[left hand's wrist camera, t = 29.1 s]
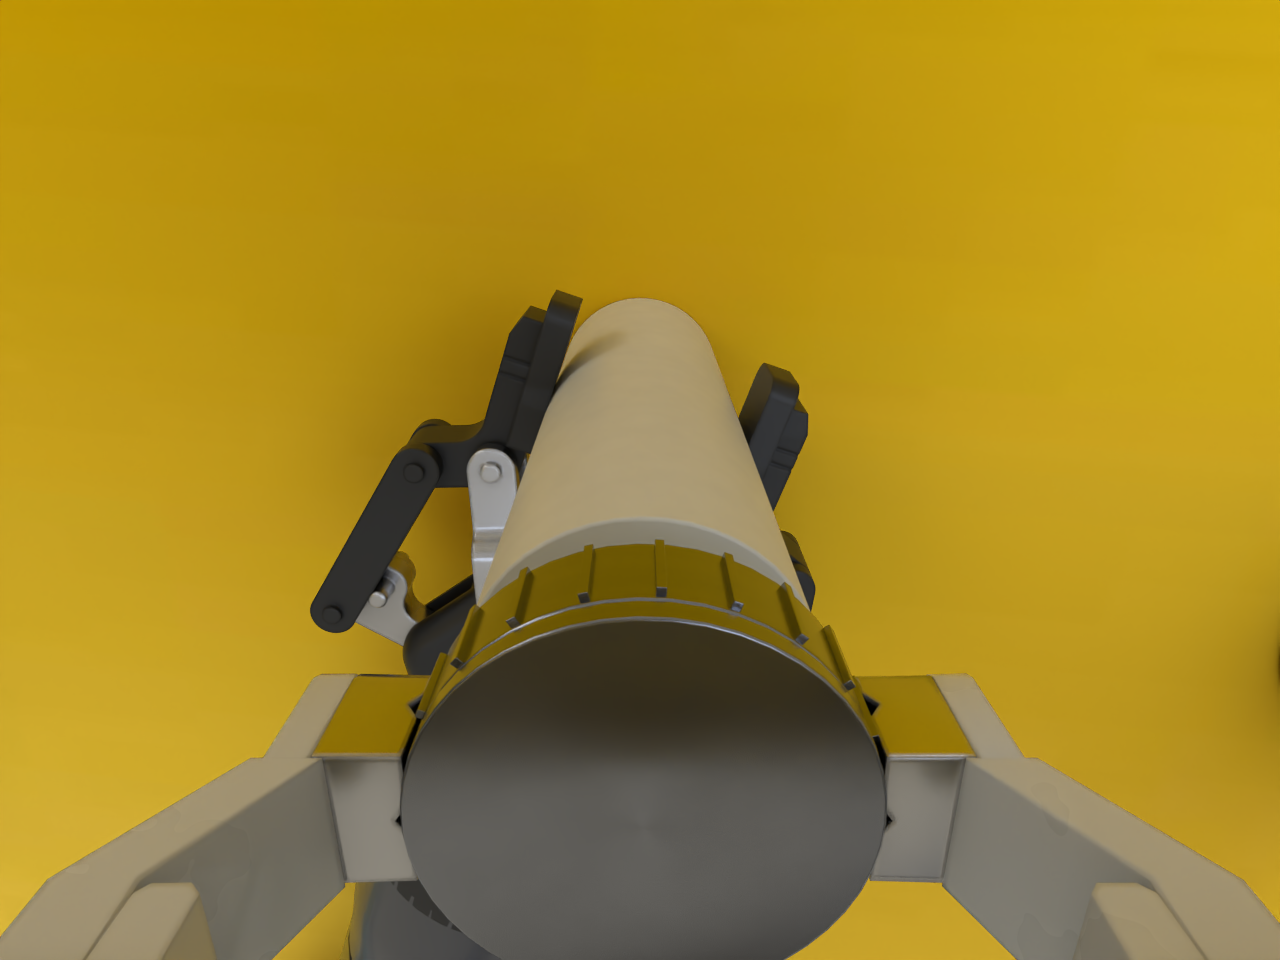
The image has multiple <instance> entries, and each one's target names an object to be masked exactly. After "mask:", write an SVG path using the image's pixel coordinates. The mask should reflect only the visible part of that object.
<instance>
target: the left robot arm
mask: <svg viewBox="0 0 1280 960" xmlns="http://www.w3.org/2000/svg"><path fill="white" fill-rule="evenodd" d="M430 677H431V675H385V674H360V675H357V674H321V675H318V676H316V677H314V678H313V679H312V681H311V682H310V684H309V685H308V687H307V689H306V690H305V692H304V693H303V695H302V697H301V698H300V700H299V701H298V703H297V705H296V706H295V708H294V709H293V711H292V713H291V714H290V716H289V717H288V719H287V720H286V722H285V724H284V725H283V727H282V728H281V730H280V732H279V733H278V735H277V736H276V738H275V740H274V741H273V743H272V744H271V746H270V747H269V749H268V751H267V752H266V754H265V755H264V757H263V758H250V759H248V760H247V761H245V762H243V763H242V764H240V765H238V766H237V767H235V768H233V769H231V770H230V771H228V772H226V773H225V774H223V775H221V776H220V777H218V778H216V779H215V780H213V781H211V782H210V783H208V784H206V785H205V786H203V787H201V788H200V789H198V790H196V791H195V792H193V793H191V794H190V795H188V796H186V797H184V798H183V799H181V800H179V801H178V802H176V803H174V804H173V805H171V806H169V807H168V808H166V809H164V810H163V811H161V812H159V813H158V814H156V815H154V816H153V817H151V818H149V819H148V820H146V821H144V822H143V823H141V824H139V825H138V826H136V827H134V828H132V829H131V830H129V831H127V832H126V833H124V834H122V835H121V836H119V837H117V838H116V839H114V840H112V841H111V842H109V843H107V844H106V845H104V846H102V847H101V848H99V849H97V850H96V851H94V852H92V853H91V854H89V855H87V856H86V857H84V858H82V859H80V860H79V861H77V862H75V863H74V864H72V865H70V866H69V867H67V868H65V869H64V870H62V871H60V872H59V873H57V874H55V875H54V876H52V877H50V878H49V879H47V880H46V882H45V883H44V884H43V885H42V887H41V888H40V889H39V890H38V891H37V893H36V894H35V895H34V896H33V897H32V899H31V900H30V901H29V902H28V904H27V905H26V906H25V907H24V908H23V910H22V911H21V912H20V913H19V915H18V916H17V917H16V918H15V919H14V921H13V922H12V923H11V924H10V926H9V927H8V928H7V929H6V930H5V932H4V933H3V934H2V935H1V936H0V960H272V959H273V958H274V957H275V956H276V955H277V954H278V953H279V952H280V951H281V950H282V949H283V948H284V947H285V946H286V945H287V944H288V943H289V942H290V941H291V940H292V939H293V938H294V937H295V936H296V935H297V934H298V933H299V932H300V931H301V930H302V929H303V928H304V927H305V926H306V925H307V924H308V923H309V922H310V921H311V920H312V919H313V918H314V917H315V916H316V915H317V914H318V913H319V912H320V911H321V910H322V909H323V908H324V907H325V906H326V905H327V904H328V903H329V902H330V901H331V900H332V899H333V898H334V897H335V896H336V895H337V894H338V893H339V892H340V891H341V890H342V889H343V888H344V887H345V883H350V882H384V881H417V880H418V877H417V875H416V872H415V870H414V868H413V865H412V863H411V861H410V859H409V856H408V853H407V849H406V845H405V841H404V838H403V834H402V828H401V817H400V806H399V805H400V792H401V780H402V776H403V772H404V768H405V764H406V760H407V757H408V754H409V751H410V748H411V746H412V743H413V741H414V738H415V736H416V733H417V730H418V728H419V725H420V722H421V720H422V719H419V718H416V717H415V714H416V712H417V709H418V707H419V704H420V702H421V699H422V697H423V694H424V692H425V689H426V687H427V684H428V682H429V679H430ZM855 678H856V681H857V683H858V685H859V688H860V690H861V693H862V695H863V698H864V700H865V702H866V705H867V707H868V710H869V712H870V715H871V717H872V720H873V722H874V724H875V727H876V729H877V732H878V734H879V743H876V747H877V750H878V753H879V757H880V760H881V763H882V766H883V769H884V774H885V781H886V788H887V795H888V796H887V822H886V827H885V832H884V837H883V842H882V847H881V850H880V852H879V855H878V858H877V860H876V863H875V866H874V869H873V871H872V872H871V874H870V876H869V879H870V881H902V882H937V883H943V884H942V886H943V887H944V888H945V889H946V890H947V891H948V892H949V893H950V894H951V895H952V896H953V897H954V898H955V899H956V900H957V901H958V902H959V903H960V904H961V905H962V906H963V907H964V908H965V909H966V910H967V911H968V912H969V913H970V914H971V915H972V916H973V917H974V918H975V919H976V920H977V921H978V922H979V923H980V924H981V925H982V926H983V927H984V928H985V929H986V930H987V931H988V932H989V933H990V934H991V935H992V936H993V937H994V938H995V939H996V940H997V941H998V942H999V943H1000V944H1002V945H1003V946H1004V947H1005V948H1006V949H1007V950H1008V951H1009V952H1010V953H1011V954H1012V955H1013V956H1014V957H1015V958H1016V959H1017V960H1280V923H1279V922H1278V921H1277V920H1276V919H1275V917H1274V916H1273V915H1272V914H1271V913H1270V911H1269V910H1268V909H1267V908H1266V907H1265V905H1264V904H1263V903H1262V902H1261V901H1260V899H1259V898H1258V897H1257V896H1256V894H1255V893H1254V892H1253V891H1252V890H1251V888H1250V887H1249V886H1248V885H1247V884H1246V882H1245V881H1244V880H1242V879H1241V878H1239V877H1237V876H1236V875H1234V874H1232V873H1230V872H1229V871H1227V870H1225V869H1224V868H1222V867H1220V866H1219V865H1217V864H1215V863H1214V862H1212V861H1210V860H1209V859H1207V858H1205V857H1203V856H1202V855H1200V854H1198V853H1197V852H1195V851H1193V850H1192V849H1190V848H1188V847H1187V846H1185V845H1183V844H1182V843H1180V842H1178V841H1176V840H1175V839H1173V838H1171V837H1170V836H1168V835H1166V834H1165V833H1163V832H1161V831H1160V830H1158V829H1156V828H1155V827H1153V826H1151V825H1149V824H1148V823H1146V822H1144V821H1143V820H1141V819H1139V818H1138V817H1136V816H1134V815H1133V814H1131V813H1129V812H1128V811H1126V810H1124V809H1122V808H1121V807H1119V806H1117V805H1116V804H1114V803H1112V802H1111V801H1109V800H1107V799H1106V798H1104V797H1102V796H1101V795H1099V794H1097V793H1095V792H1094V791H1092V790H1090V789H1089V788H1087V787H1085V786H1084V785H1082V784H1080V783H1079V782H1077V781H1075V780H1074V779H1072V778H1070V777H1068V776H1067V775H1065V774H1063V773H1062V772H1060V771H1058V770H1057V769H1055V768H1053V767H1052V766H1050V765H1048V764H1047V763H1045V762H1043V761H1041V760H1040V759H1038V758H1025V757H1024V756H1023V754H1022V753H1021V751H1020V749H1019V748H1018V746H1017V745H1016V743H1015V742H1014V740H1013V739H1012V737H1011V736H1010V734H1009V733H1008V731H1007V729H1006V728H1005V726H1004V725H1003V723H1002V722H1001V720H1000V719H999V717H998V716H997V714H996V713H995V711H994V709H993V708H992V706H991V705H990V703H989V702H988V700H987V699H986V697H985V696H984V694H983V693H982V691H981V689H980V688H979V686H978V685H977V683H976V682H975V680H974V679H973V677H971V676H969V675H968V674H966V673H960V674H929V675H926V676H855Z"/></svg>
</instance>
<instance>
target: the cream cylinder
mask: <svg viewBox="0 0 1280 960" xmlns="http://www.w3.org/2000/svg"><path fill="white" fill-rule="evenodd" d="M655 539H658V540H664V543H665V545H673V546H680V547H686V548H693V549H698V550H701V551H705V552H709V553H712V554H716V555H719V556H723V554H724V552H726V553H729V554H732V555H733V558H734V561H735V562H738V563H740V564H743V565H745V566H747V567H750V568H752V569H754V570H756V571H757V572H759V573H761V574H762V575H764V576H766V577H768V578H769V579H771V580H773V581H775V582H776V583H778V584H779V585H780V586H781V585H782V584H783V583H784V582H786V583H787V584H788V585H790V586H791V588H792V591H793V594H794V596H795V597H796V598H797V599H798V600H799V601H800V602H801V603H802V604H803V605H804V606H805V607H806V608H807V609H808V610H809V611H810V609H809V607H808V604H807V601H806V599H805V596H804V593H803V591H802V588H801V585H800V583H799V580H798V577H797V575H796V572H795V569H794V567H793V564H792V561H791V559H790V556H789V553H788V551H787V548H786V545H785V542H784V540H783V537H782V534H781V532H780V529H779V526H778V524H777V521H776V518H775V516H774V513H773V510H772V508H771V505H770V502H769V500H768V497H767V494H766V492H765V489H764V486H763V484H762V481H761V478H760V476H759V473H758V470H757V468H756V465H755V462H754V460H753V457H752V454H751V452H750V449H749V446H748V444H747V441H746V438H745V436H744V433H743V430H742V428H741V425H740V422H739V420H738V417H737V414H736V412H735V409H734V406H733V404H732V401H731V398H730V396H729V393H728V390H727V387H726V385H725V382H724V379H723V377H722V374H721V371H720V369H719V366H718V363H717V361H716V358H715V355H714V353H713V350H712V347H711V345H710V343H709V341H708V339H707V336H706V335H705V333H704V332H703V330H702V329H701V327H700V326H699V325H698V324H697V323H696V322H695V321H694V320H693V319H692V318H691V317H690V316H689V315H688V314H686V313H685V312H683V311H682V310H680V309H679V308H677V307H675V306H673V305H671V304H669V303H666V302H663V301H660V300H654V299H649V298H633V299H626V300H621V301H617V302H615V303H612V304H609V305H607V306H605V307H603V308H601V309H600V310H598V311H597V312H595V313H594V314H592V315H591V316H590V317H589V318H588V319H587V320H586V321H585V322H584V323H583V324H582V325H581V327H580V328H579V329H578V330H577V332H576V334H575V335H574V337H573V339H572V341H571V343H570V345H569V348H568V351H567V354H566V356H565V359H564V362H563V365H562V368H561V370H560V373H559V376H558V379H557V382H556V385H555V388H554V391H553V394H552V397H551V400H550V402H549V405H548V408H547V410H546V413H545V415H544V418H543V421H542V424H541V426H540V429H539V432H538V435H537V438H536V440H535V443H534V446H533V449H532V452H531V455H530V457H529V460H528V463H527V466H526V469H525V471H524V474H523V477H522V480H521V483H520V485H519V488H518V491H517V494H516V497H515V499H514V502H513V505H512V508H511V511H510V513H509V516H508V519H507V522H506V525H505V527H504V530H503V533H502V536H501V539H500V541H499V544H498V547H497V550H496V553H495V556H494V558H493V561H492V564H491V567H490V570H489V572H488V575H487V578H486V581H485V584H484V586H483V589H482V592H481V595H480V598H479V600H478V603H477V606H479V607H481V606H482V605H483V604H484V603H486V602H487V601H488V600H489V599H490V598H491V597H493V596H494V595H495V594H496V593H497V592H498V591H499V590H501V589H502V588H503V587H505V586H507V585H508V584H510V583H511V582H513V581H514V580H516V579H517V578H518V576H519V573H520V570H522V569H524V568H525V567H528V568H529V569H530V570H534V569H536V568H538V567H540V566H542V565H544V564H546V563H548V562H550V561H553V560H556V559H559V558H562V557H565V556H568V555H571V554H574V553H577V552H581V551H584V546H586V545H590V544H593V545H594V549H595V548H600V547H605V546H613V545H626V544H655Z"/></svg>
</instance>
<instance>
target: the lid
mask: <svg viewBox="0 0 1280 960" xmlns="http://www.w3.org/2000/svg"><path fill="white" fill-rule="evenodd" d="M415 717H416V718H419V719H422V720H421V722H420V725H419V728H418V730H417V733H416V736H415V738H414V741H413V743H412V746H411V748H410V751H409V754H408V757H407V760H406V764H405V768H404V772H403V776H402V780H401V792H400V805H399V806H400V817H401V828H402V834H403V838H404V841H405V845H406V849H407V853H408V856H409V859H410V861H411V863H412V865H413V868H414V870H415V872H416V875H417V877H418V879H419V881H420V882H421V884H422V885H423V887H424V889H425V890H426V892H427V893H428V895H429V896H430V898H431V900H432V901H433V902H434V903H435V904H436V906H437V907H438V908H439V909H440V910H441V911H442V913H443V914H444V915H445V916H446V917H447V919H448V920H449V921H450V922H452V923H453V924H454V925H455V926H456V927H457V928H458V929H459V930H460V931H461V932H463V933H464V934H465V935H466V936H467V937H468V938H470V939H471V940H472V941H474V942H475V943H477V944H478V945H479V946H481V947H482V948H484V949H485V950H486V951H488V952H489V953H491V954H493V955H495V956H496V957H498V958H500V959H502V960H785V959H787V958H789V957H790V956H792V955H793V954H795V953H797V952H798V951H800V950H802V949H803V948H805V947H806V946H808V945H809V944H810V943H812V942H813V941H814V940H815V939H817V938H818V937H819V936H820V935H822V934H823V933H824V932H825V931H827V930H828V929H829V928H830V927H831V926H832V925H833V924H834V923H835V922H836V921H837V920H838V919H839V918H840V917H841V916H842V915H843V914H844V913H845V912H846V910H847V909H848V908H849V907H850V905H851V904H852V903H853V901H854V900H855V899H856V897H857V896H858V895H859V893H860V892H861V890H862V889H863V887H864V885H865V883H866V881H867V880H868V878H869V876H870V874H871V872H872V871H873V869H874V866H875V863H876V860H877V858H878V855H879V852H880V850H881V847H882V842H883V837H884V832H885V827H886V822H887V796H888V795H887V788H886V781H885V774H884V769H883V766H882V763H881V760H880V757H879V753H878V750H877V747H876V743H879V734H878V732H877V729H876V727H875V724H874V722H873V720H872V717H871V715H870V712H869V710H868V707H867V705H866V702H865V700H864V698H863V695H862V693H861V690H860V688H859V685H858V683H857V681H856V678H855V676H852V675H851V673H850V670H849V668H848V666H847V663H846V661H845V658H844V656H843V653H842V651H841V648H840V646H839V643H838V641H837V638H836V636H835V633H834V631H833V629H832V628H831V627H830V625H828V626H826V627H824V628H823V627H822V625H821V624H820V623H819V621H818V620H817V618H816V617H815V616H814V615H813V614H812V613H811V612H810V611H809V610H808V609H807V608H806V607H805V606H804V605H803V604H802V603H801V602H800V601H799V600H798V599H797V598H796V597H795V596H794V594H793V591H792V588H791V586H790V585H788V584H787V583H786V582H784V583H783V584H782V585H781V586H780V585H779V584H778V583H776V582H775V581H773V580H771V579H769V578H768V577H766V576H764V575H762V574H761V573H759V572H757V571H756V570H754V569H752V568H750V567H747V566H745V565H743V564H740V563H738V562H735V561H734V558H733V555H732V554H729V553H726V552H724V554H723V556H719V555H716V554H712V553H709V552H705V551H701V550H698V549H693V548H686V547H680V546H673V545H665V543H664V540H658V539H655V544H626V545H613V546H605V547H600V548H595V549H594V545H593V544H590V545H586V546H584V551H581V552H577V553H574V554H571V555H568V556H565V557H562V558H559V559H556V560H553V561H550V562H548V563H546V564H544V565H542V566H540V567H538V568H536V569H534V570H530V569H529V568H528V567H525V568H524V569H522V570H520V573H519V576H518V578H517V579H516V580H514V581H513V582H511V583H510V584H508V585H507V586H505V587H503V588H502V589H501V590H499V591H498V592H497V593H496V594H495V595H494V596H493V597H491V598H490V599H489V600H488V601H487V602H486V603H484V604H483V605H482V606H481V607H479V606H477V605H476V604H475V605H474V606H473V607H472V608H471V609H470V611H469V614H468V616H467V619H466V622H465V624H464V627H463V628H462V630H461V631H460V633H459V635H458V636H457V638H456V639H455V641H454V642H453V644H452V646H451V647H450V650H449V652H448V654H445V653H442V652H441V653H440V655H439V657H438V659H437V662H436V664H435V667H434V669H433V672H432V674H431V677H430V679H429V682H428V684H427V687H426V689H425V692H424V694H423V697H422V699H421V702H420V704H419V707H418V709H417V712H416V714H415Z"/></svg>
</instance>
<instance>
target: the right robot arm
mask: <svg viewBox="0 0 1280 960" xmlns="http://www.w3.org/2000/svg"><path fill="white" fill-rule="evenodd" d="M582 300H583V299H582V298H579V297H576V296H573V295H570V294H568V293H565V292H562V291H559V290H556V292H555V293H554V295H553V297H552V298H551V301H550V303H549V306H548V309H547V311H545V310H542V309H539V308H536V307H533V306H530V307H529V308H528V310H527V311H526V312H525V313H524V315H523V316H522V317H521V318H520V320H519V321H518V322H517V323H516V325H515V326H514V328H513V329H512V331H511V332H510V333H509V337H508V340H507V344H506V347H505V351H504V354H503V358H502V361H501V364H500V368H499V372H498V375H497V378H496V382H495V385H494V389H493V392H492V396H491V399H490V403H489V406H488V410H487V413H486V417H485V419H484V420H482V421H480V422H478V423H476V424H472V425H450V424H449V423H447V422H445V421H443V420H440V419H430V420H427V421H425V422H423V423H422V424H421V425H420V426H419V427H418V428H417V429H416V430H415V432H414V433H413V435H412V437H411V438H410V440H409V442H408V444H407V445H406V446H404V447H403V448H402V449H400V450H399V452H398V453H397V454H396V455H395V457H394V458H393V460H392V461H391V463H390V465H389V467H388V469H387V470H386V472H385V474H384V476H383V477H382V479H381V481H380V483H379V485H378V486H377V488H376V490H375V492H374V493H373V495H372V497H371V499H370V501H369V502H368V504H367V506H366V508H365V510H364V511H363V513H362V515H361V517H360V518H359V520H358V522H357V524H356V526H355V527H354V529H353V531H352V533H351V534H350V536H349V538H348V540H347V542H346V543H345V545H344V547H343V549H342V550H341V552H340V554H339V556H338V558H337V559H336V561H335V563H334V565H333V567H332V568H331V570H330V572H329V574H328V575H327V577H326V579H325V581H324V583H323V584H322V586H321V588H320V590H319V591H318V593H317V595H316V597H315V599H314V600H313V602H312V604H311V608H310V613H311V617H312V619H313V621H314V622H315V623H316V625H318V626H319V627H320V628H321V629H323V630H325V631H328V632H332V633H341V632H344V631H347V630H348V629H350V628H351V627H352V626H353V625H354V623H355V622H356V623H358V624H360V625H362V626H364V627H366V628H368V629H370V630H372V631H374V632H376V633H378V634H380V635H382V636H384V637H386V638H388V639H390V640H392V641H394V642H396V643H398V644H399V645H401V646H403V660H404V663H405V666H406V669H407V672H408V675H431V674H432V672H433V669H434V667H435V664H436V662H437V659H438V657H439V655H440V653H441V652H442V653H445V654H448V652H449V650H450V647H451V646H452V644H453V642H454V641H455V639H456V638H457V636H458V635H459V633H460V631H461V630H462V628H463V627H464V624H465V622H466V619H467V616H468V614H469V611H470V609H471V608H472V607H473V606H474V605H475V604H476V605H477V603H478V600H479V598H480V595H481V592H482V589H483V586H484V584H485V581H486V578H487V575H488V572H489V570H490V567H491V564H492V561H493V558H494V556H495V553H496V550H497V547H498V544H499V541H500V539H501V536H502V533H503V530H504V527H505V525H506V522H507V519H508V516H509V513H510V511H511V508H512V505H513V502H514V499H515V497H516V494H517V491H518V488H519V485H520V483H521V480H522V477H523V474H524V471H525V469H526V466H527V463H528V460H529V454H531V452H532V449H533V446H534V443H535V440H536V438H537V435H538V432H539V429H540V426H541V424H542V421H543V418H544V415H545V413H546V410H547V408H548V405H549V402H550V400H551V397H552V394H553V391H554V388H555V385H556V382H557V379H558V376H559V373H560V370H561V367H562V363H563V360H564V357H565V354H566V351H567V348H568V345H569V341H570V338H571V335H572V332H573V329H574V326H575V322H576V319H577V316H578V313H579V310H580V307H581V303H582ZM798 395H799V384H798V383H797V381H796V380H795V379H794V377H793V376H792V374H791V373H790V372H789V371H787V370H784V369H781V368H778V367H775V366H772V365H769V364H767V363H763V364H762V365H761V367H760V368H759V370H758V372H757V374H756V376H755V379H754V381H753V384H752V386H751V389H750V391H749V393H748V396H747V398H746V401H745V403H744V406H743V408H742V410H741V413H740V415H739V418H738V420H739V422H740V425H741V428H742V430H743V433H744V436H745V438H746V441H747V444H748V446H749V449H750V452H751V454H752V457H753V460H754V462H755V465H756V468H757V470H758V473H759V476H760V478H761V481H762V484H763V486H764V489H765V492H766V494H767V497H768V500H769V502H770V505H771V508H772V510H773V511H774V509H775V507H776V504H777V502H778V500H779V498H780V495H781V493H782V491H783V489H784V486H785V484H786V482H787V480H788V478H789V475H790V473H791V469H792V468H793V466H794V464H795V462H796V460H797V456H798V454H799V453H800V451H801V449H802V446H803V444H804V442H805V440H806V437H807V435H808V413H807V412H806V410H805V409H804V407H803V405H802V404H801V402H800V401H799V399H798ZM448 487H468V488H469V497H470V507H471V516H472V525H473V540H472V550H471V558H472V568H473V574H472V575H470V576H469V577H467V578H466V579H464V580H463V581H461V582H459V583H458V584H456V585H455V586H453V587H452V588H450V589H449V590H447V591H446V592H444V593H443V594H441V595H440V596H438V597H437V598H435V599H433V600H432V601H430V602H429V603H427V604H426V605H423V604H421V603H420V602H419V601H418V600H417V599H416V597H415V596H414V593H413V590H412V585H413V581H414V578H415V575H416V570H415V566H414V564H413V563H412V561H411V560H410V559H409V556H408V555H407V554H406V553H405V552H402V551H398V549H399V548H400V546H401V544H402V543H403V541H404V539H405V537H406V536H407V534H408V532H409V531H410V529H411V527H412V526H413V524H414V522H415V521H416V519H417V517H418V515H419V514H420V512H421V510H422V509H423V507H424V505H425V504H426V502H427V500H428V498H429V497H430V495H431V493H432V492H433V490H434V488H448ZM780 532H781V534H782V537H783V540H784V542H785V545H786V548H787V551H788V553H789V556H790V559H791V561H792V564H793V567H794V569H795V572H796V575H797V577H798V580H799V583H800V585H801V588H802V591H803V593H804V596H805V599H806V601H807V604H808V607H809V609H810V612H811V610H812V605H813V600H814V595H815V584H814V581H813V579H812V576H811V574H810V572H809V569H808V567H807V564H806V562H805V559H804V557H803V554H802V552H801V550H800V547H799V545H798V542H797V540H796V538H795V537H794V536H793V535H792V534H790V533H788V532H786V531H780ZM339 960H502V959H500V958H498V957H496V956H495V955H493V954H491V953H489V952H488V951H486V950H485V949H484V948H482V947H481V946H479V945H478V944H477V943H475V942H474V941H472V940H471V939H470V938H468V937H467V936H466V935H465V934H464V933H463V932H461V931H460V930H459V929H458V928H457V927H456V926H455V925H454V924H453V923H452V922H450V921H449V920H448V919H447V917H446V916H445V915H444V914H443V913H442V911H441V910H440V909H439V908H438V907H437V906H436V904H435V903H434V902H433V901H432V900H431V898H430V896H429V895H428V893H427V892H426V890H425V889H424V887H423V885H422V884H421V882H420V881H419V879H418V880H417V881H384V882H356V886H355V894H354V908H353V915H352V919H351V922H350V925H349V929H348V932H347V936H346V939H345V942H344V946H343V949H342V952H341V956H340V959H339Z"/></svg>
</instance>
